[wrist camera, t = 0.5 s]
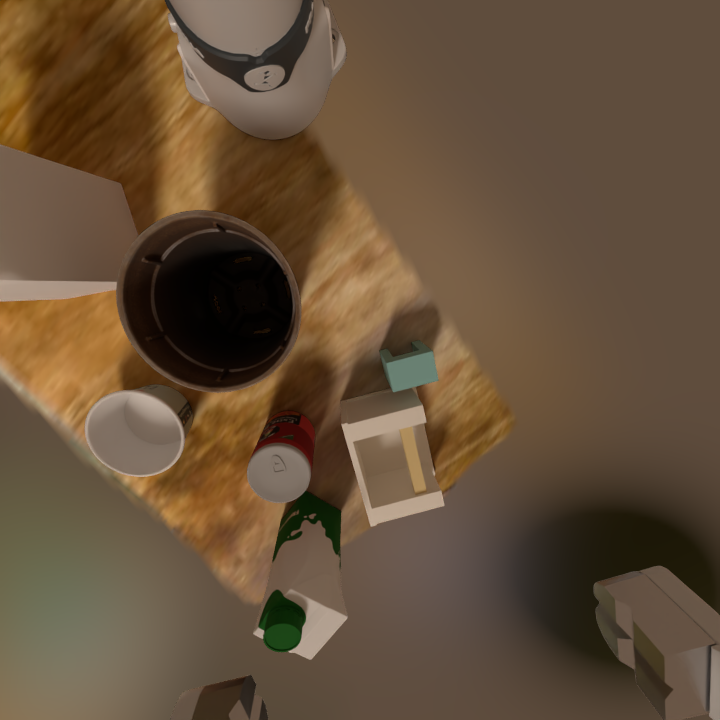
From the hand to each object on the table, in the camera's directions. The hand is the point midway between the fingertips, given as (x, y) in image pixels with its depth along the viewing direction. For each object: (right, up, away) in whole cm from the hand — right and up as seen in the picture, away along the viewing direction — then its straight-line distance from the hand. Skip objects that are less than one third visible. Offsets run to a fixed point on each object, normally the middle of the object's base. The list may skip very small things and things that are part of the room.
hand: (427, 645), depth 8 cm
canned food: (-12, -4, +44) cm, 46 cm away
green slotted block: (+5, +7, +42) cm, 43 cm away
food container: (-31, -1, +42) cm, 52 cm away
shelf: (+3, -6, +45) cm, 46 cm away
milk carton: (-9, -19, +48) cm, 53 cm away
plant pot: (-16, +15, +39) cm, 45 cm away
